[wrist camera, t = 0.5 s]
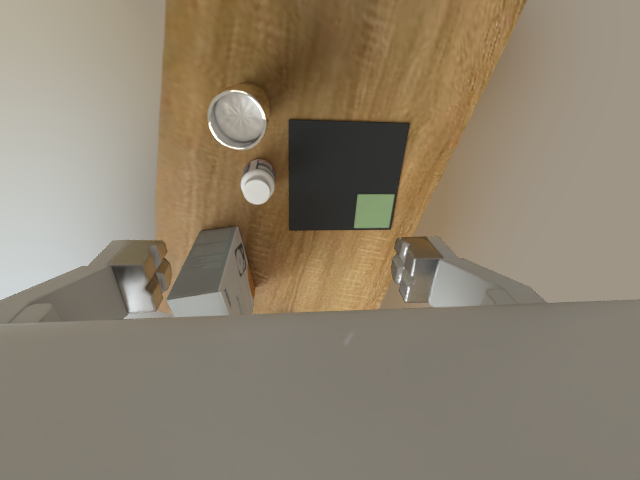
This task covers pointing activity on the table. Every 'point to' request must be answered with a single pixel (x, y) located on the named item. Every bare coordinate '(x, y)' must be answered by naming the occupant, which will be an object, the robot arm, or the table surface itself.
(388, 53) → the table surface
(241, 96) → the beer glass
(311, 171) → the mat
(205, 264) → the hard drive box
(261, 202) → the pill bottle
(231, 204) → the table surface
